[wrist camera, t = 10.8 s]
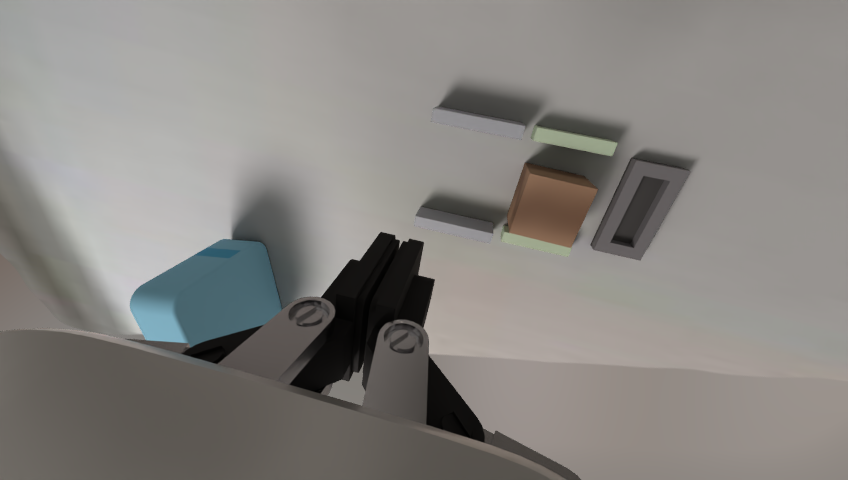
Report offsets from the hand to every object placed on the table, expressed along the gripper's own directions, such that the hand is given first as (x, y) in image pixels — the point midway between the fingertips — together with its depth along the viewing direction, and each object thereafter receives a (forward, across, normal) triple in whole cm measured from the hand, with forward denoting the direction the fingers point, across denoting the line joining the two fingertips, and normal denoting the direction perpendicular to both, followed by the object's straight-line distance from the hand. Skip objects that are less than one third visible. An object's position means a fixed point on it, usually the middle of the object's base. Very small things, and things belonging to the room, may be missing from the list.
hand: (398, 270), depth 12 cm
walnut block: (+18, -9, +1) cm, 20 cm away
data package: (+18, +20, +19) cm, 33 cm away
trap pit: (+18, -16, +1) cm, 24 cm away
